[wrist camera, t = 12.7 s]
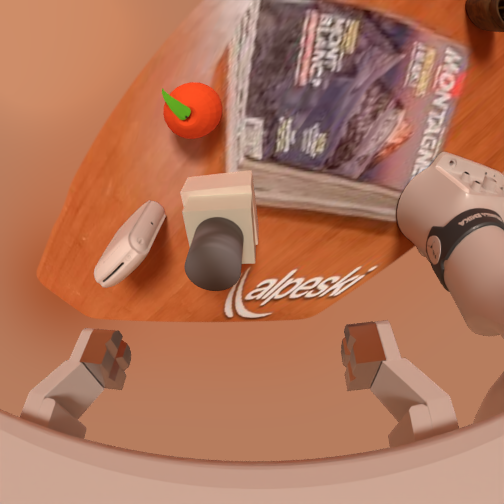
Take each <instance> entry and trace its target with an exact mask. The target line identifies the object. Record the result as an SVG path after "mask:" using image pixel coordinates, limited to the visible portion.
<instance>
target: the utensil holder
mask: <svg viewBox="0 0 504 504" xmlns="http://www.w3.org/2000/svg"><path fill="white" fill-rule="evenodd" d="M466 10H467V13H468V16H469V18H470V19H471V21H472V22H473V23H474V24H475V25H476V26H477V27H479V28H480V29H483V30H487V31H495V32H504V0H467V2H466Z"/></svg>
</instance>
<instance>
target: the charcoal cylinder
mask: <svg viewBox="0 0 504 504" xmlns="http://www.w3.org/2000/svg"><path fill="white" fill-rule="evenodd" d="M243 242H244V236H243V233H242V230H241V229H240V227H239V226H238V225H237V224H236V223H234V222H233V221H231V220H229V219H226V218H222V217H212V218H208V219H206V220H204V221H202V222H201V223H200V224H199V225H198V227H197V228H196V231H195V234H194V237H193V240H192V243H191V246H190V249H189V252H188V255H187V259H186V262H185V272H186V274H187V276H188V278H189V279H190V280H191V281H192V282H193V283H194V284H195V285H197V286H198V287H200V288H203V289H206V290H210V291H221V290H225V289H228V288H230V287H232V286H233V285H235V284H236V283H237V281H238V280H239V278H240V275H241V264H242V253H243Z"/></svg>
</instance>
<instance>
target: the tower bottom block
mask: <svg viewBox="0 0 504 504" xmlns="http://www.w3.org/2000/svg"><path fill="white" fill-rule="evenodd" d="M180 193H181V197H182V202H183V206H184V207H185V205H186V202H187V200H188V198H189V197H190V196H203V195H218V194H236V193H252V201H253V214H254V228H255V242H256V245H258V219H257V210H256V201H255V193H254V184H253V176H252V171H242V172H232V173H222V174H213V175H204V176H196V177H188V178H187V180H186V182H185V184H184V186H183V188H182V190H181V192H180Z"/></svg>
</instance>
